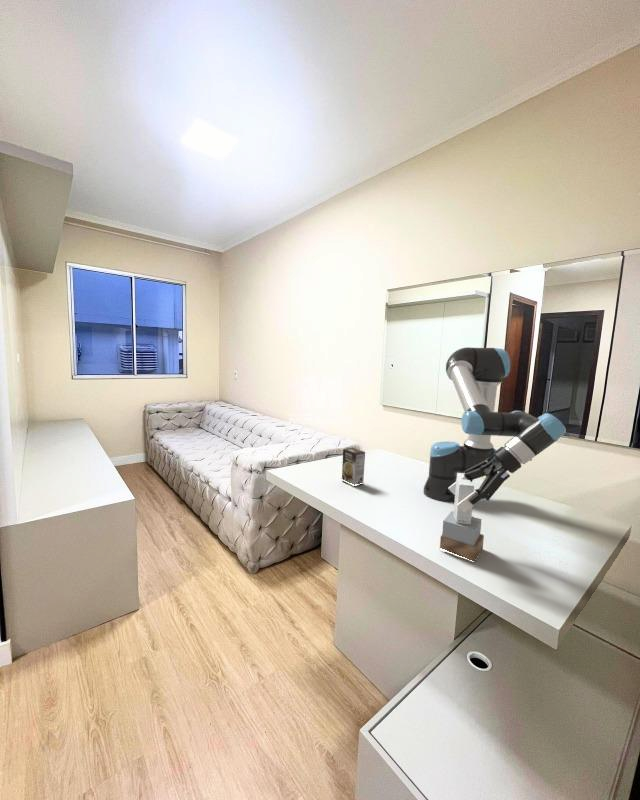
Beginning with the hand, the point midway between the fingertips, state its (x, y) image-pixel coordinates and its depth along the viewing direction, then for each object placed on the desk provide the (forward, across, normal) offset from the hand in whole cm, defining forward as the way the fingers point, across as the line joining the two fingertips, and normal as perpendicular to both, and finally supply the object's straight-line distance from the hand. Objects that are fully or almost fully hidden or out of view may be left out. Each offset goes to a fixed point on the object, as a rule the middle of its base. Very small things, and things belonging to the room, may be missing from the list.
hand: (455, 499), depth 105 cm
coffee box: (+36, +51, +14) cm, 64 cm away
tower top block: (+6, 0, -10) cm, 12 cm away
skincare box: (+3, 0, -6) cm, 7 cm away
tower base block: (+10, 0, -14) cm, 17 cm away
